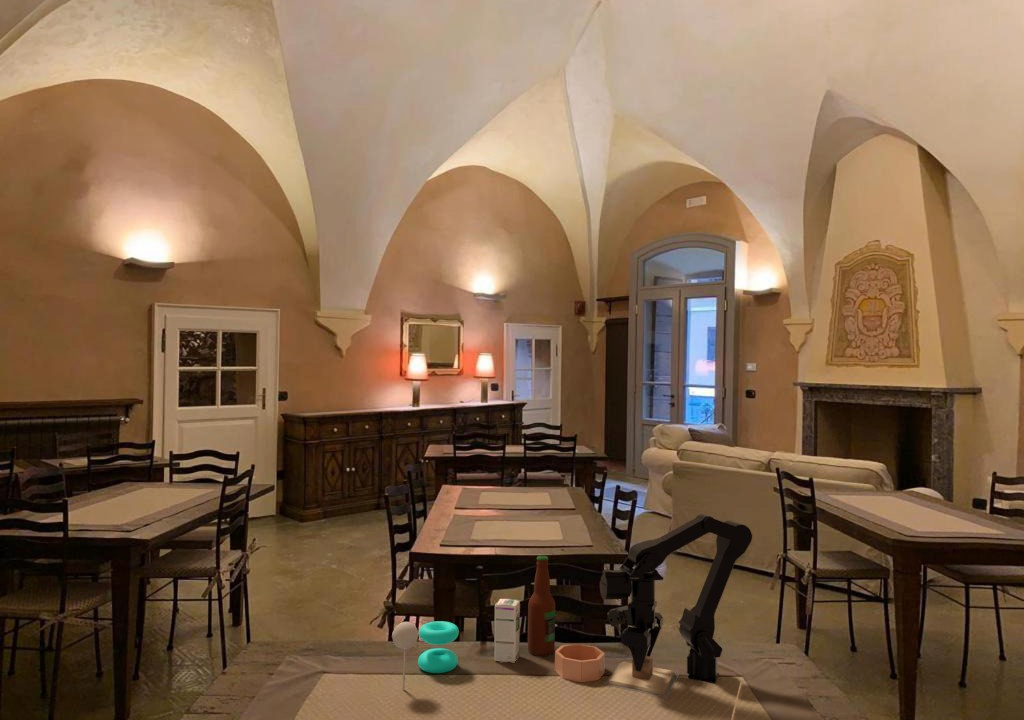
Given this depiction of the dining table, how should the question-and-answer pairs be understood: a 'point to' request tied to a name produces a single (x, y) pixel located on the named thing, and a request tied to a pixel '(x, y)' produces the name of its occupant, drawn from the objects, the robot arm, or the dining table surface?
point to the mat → (646, 691)
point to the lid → (643, 677)
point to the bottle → (541, 613)
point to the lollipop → (405, 639)
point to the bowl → (579, 662)
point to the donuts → (438, 657)
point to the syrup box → (507, 630)
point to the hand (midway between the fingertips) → (642, 664)
